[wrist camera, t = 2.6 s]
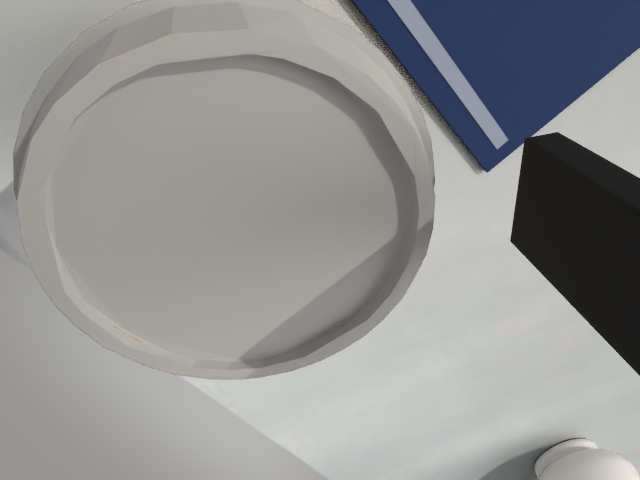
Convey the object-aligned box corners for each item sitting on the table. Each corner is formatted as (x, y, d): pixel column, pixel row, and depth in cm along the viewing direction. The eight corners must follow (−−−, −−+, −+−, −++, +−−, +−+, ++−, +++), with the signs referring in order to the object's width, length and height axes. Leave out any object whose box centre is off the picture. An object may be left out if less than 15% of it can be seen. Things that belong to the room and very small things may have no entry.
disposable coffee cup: (185, -101, 16) (115, -170, 6) (385, 61, 20) (540, 180, 10) (79, 123, 19) (-77, 317, 9) (268, 221, 23) (298, 426, 14)
